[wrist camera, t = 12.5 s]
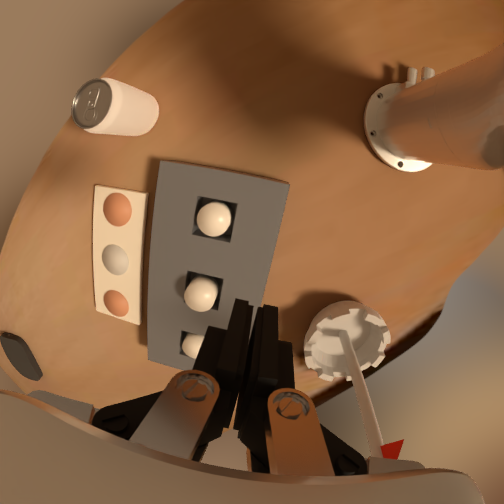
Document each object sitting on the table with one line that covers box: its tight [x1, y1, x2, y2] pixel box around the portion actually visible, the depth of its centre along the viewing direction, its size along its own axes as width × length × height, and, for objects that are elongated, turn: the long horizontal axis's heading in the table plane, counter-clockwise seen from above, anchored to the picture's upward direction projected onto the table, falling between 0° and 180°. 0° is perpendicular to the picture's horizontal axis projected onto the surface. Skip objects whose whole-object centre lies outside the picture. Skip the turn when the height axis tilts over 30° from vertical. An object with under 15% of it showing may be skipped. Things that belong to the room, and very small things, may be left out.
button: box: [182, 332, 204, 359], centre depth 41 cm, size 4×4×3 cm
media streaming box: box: [0, 333, 43, 381], centre depth 53 cm, size 15×15×3 cm
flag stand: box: [304, 301, 404, 460], centre depth 27 cm, size 13×13×30 cm
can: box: [71, 78, 159, 136], centre depth 27 cm, size 6×6×12 cm
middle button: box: [184, 274, 219, 312], centre depth 37 cm, size 4×4×3 cm
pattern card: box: [93, 185, 149, 325], centre depth 40 cm, size 22×9×1 cm, turn 168°
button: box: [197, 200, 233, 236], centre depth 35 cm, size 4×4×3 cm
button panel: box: [147, 160, 290, 371], centre depth 39 cm, size 32×16×4 cm, turn 168°
